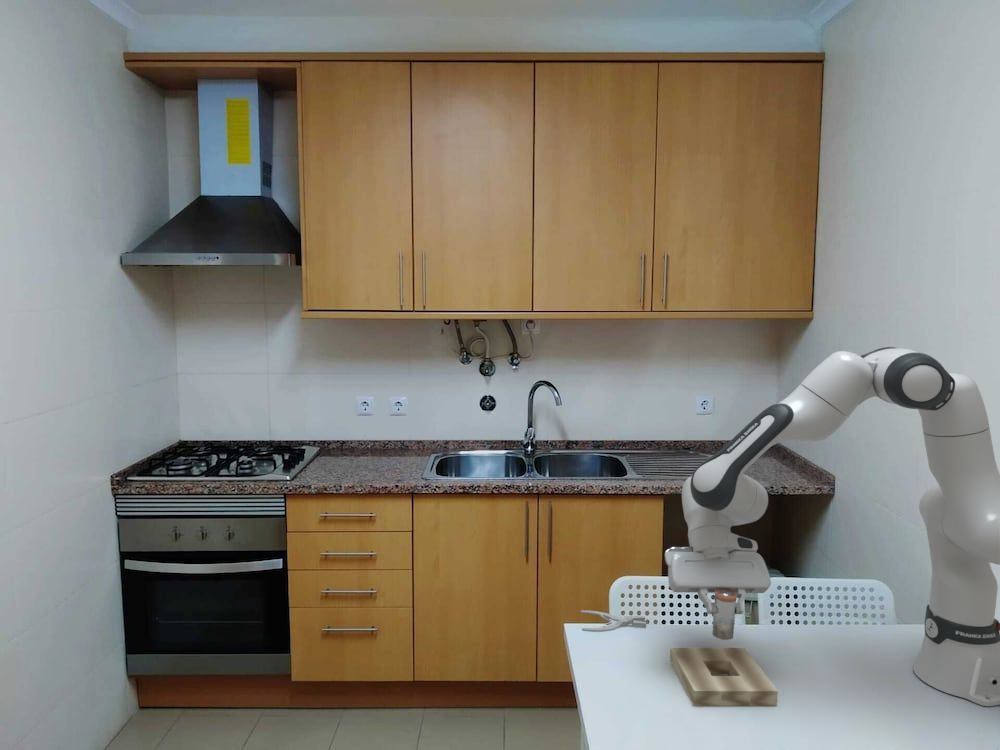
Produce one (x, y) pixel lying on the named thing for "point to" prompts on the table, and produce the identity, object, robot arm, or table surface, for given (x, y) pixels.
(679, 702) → the table surface
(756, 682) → the wooden flat square block
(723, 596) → the steel peg
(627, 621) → the pliers
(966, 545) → the robot arm
